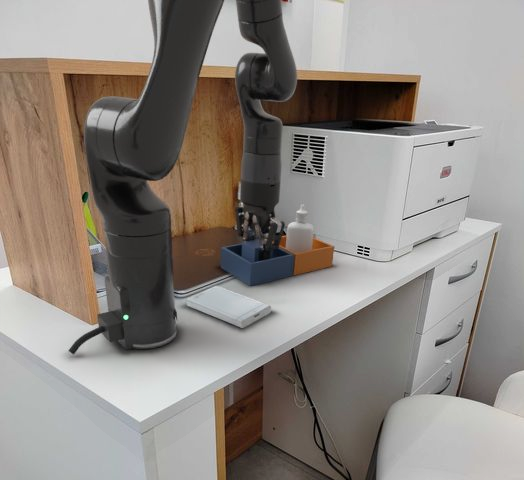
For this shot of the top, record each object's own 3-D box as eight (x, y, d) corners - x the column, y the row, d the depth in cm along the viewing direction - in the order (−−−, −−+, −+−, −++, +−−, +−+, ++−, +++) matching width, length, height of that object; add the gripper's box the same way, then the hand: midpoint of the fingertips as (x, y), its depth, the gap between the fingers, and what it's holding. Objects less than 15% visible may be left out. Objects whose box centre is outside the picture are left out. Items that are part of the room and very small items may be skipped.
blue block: (253, 270, 99) (254, 248, 97) (241, 262, 102) (242, 241, 100) (271, 266, 101) (273, 245, 99) (258, 259, 104) (260, 238, 102)
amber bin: (293, 275, 102) (295, 254, 100) (263, 259, 109) (264, 239, 107) (331, 266, 108) (334, 246, 105) (300, 251, 115) (302, 232, 112)
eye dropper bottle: (293, 254, 111) (298, 200, 105) (313, 261, 108) (320, 206, 102) (281, 259, 108) (285, 204, 102) (302, 266, 105) (307, 209, 99)
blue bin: (250, 285, 96) (250, 264, 94) (220, 267, 103) (221, 247, 101) (292, 275, 102) (294, 254, 99) (262, 259, 109) (263, 239, 107)
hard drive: (186, 298, 86) (241, 320, 80) (217, 284, 92) (271, 304, 86) (186, 307, 87) (241, 329, 81) (217, 292, 93) (271, 312, 87)
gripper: (223, 171, 96) (222, 255, 104) (267, 187, 86) (262, 278, 95) (255, 168, 100) (251, 250, 108) (300, 183, 90) (292, 271, 99)
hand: (256, 263), depth 101 cm, fingers closed on blue block, 4 cm apart
